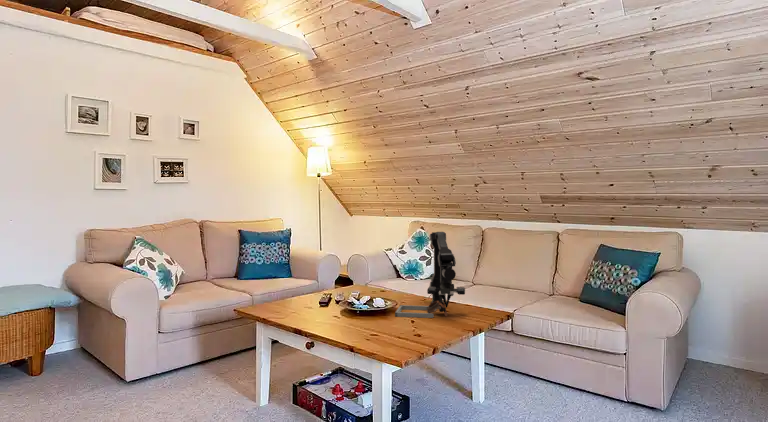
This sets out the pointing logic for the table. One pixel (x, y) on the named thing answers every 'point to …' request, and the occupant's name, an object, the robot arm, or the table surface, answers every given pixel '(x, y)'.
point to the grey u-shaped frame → (406, 314)
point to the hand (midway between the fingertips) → (446, 307)
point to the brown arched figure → (437, 307)
